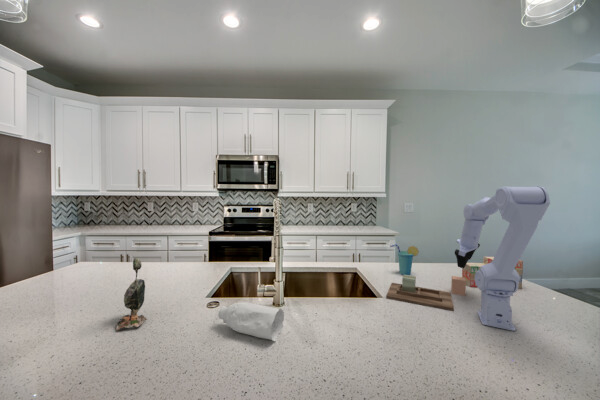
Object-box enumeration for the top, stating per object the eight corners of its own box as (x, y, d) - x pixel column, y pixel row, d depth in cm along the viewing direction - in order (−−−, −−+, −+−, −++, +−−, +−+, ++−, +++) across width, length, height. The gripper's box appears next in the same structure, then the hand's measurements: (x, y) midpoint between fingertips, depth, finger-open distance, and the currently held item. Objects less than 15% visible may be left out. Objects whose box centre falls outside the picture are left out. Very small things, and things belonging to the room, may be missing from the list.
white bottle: (230, 319, 78) (230, 294, 78) (285, 332, 71) (285, 304, 71) (212, 332, 71) (212, 304, 71) (271, 347, 64) (272, 316, 64)
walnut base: (453, 311, 86) (454, 290, 85) (386, 298, 96) (386, 279, 95) (450, 294, 100) (450, 277, 100) (391, 284, 110) (392, 269, 110)
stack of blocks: (469, 287, 108) (470, 259, 108) (461, 282, 115) (462, 255, 114) (522, 289, 107) (523, 260, 107) (511, 284, 113) (511, 257, 113)
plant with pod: (154, 312, 82) (154, 251, 82) (138, 331, 71) (137, 260, 70) (127, 314, 81) (126, 252, 80) (106, 333, 69) (105, 261, 69)
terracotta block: (465, 295, 99) (465, 280, 99) (452, 293, 101) (452, 279, 101) (464, 292, 103) (464, 277, 103) (451, 290, 105) (451, 275, 105)
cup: (393, 276, 121) (393, 245, 121) (386, 271, 129) (387, 242, 128) (421, 276, 122) (421, 245, 122) (412, 271, 130) (413, 242, 129)
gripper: (465, 223, 103) (459, 251, 109) (452, 237, 94) (446, 266, 100) (485, 229, 98) (478, 257, 104) (474, 244, 90) (466, 274, 95)
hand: (464, 262), depth 101 cm, fingers open, 7 cm apart
